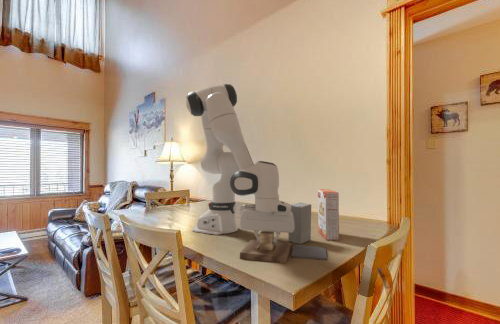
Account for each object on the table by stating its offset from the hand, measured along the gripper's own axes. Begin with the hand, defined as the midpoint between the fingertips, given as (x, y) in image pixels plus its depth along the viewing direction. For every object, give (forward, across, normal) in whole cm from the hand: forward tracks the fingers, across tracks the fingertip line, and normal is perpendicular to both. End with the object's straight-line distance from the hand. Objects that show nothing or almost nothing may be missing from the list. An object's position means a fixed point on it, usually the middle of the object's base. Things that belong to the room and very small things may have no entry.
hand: (267, 242), depth 91 cm
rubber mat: (+4, +15, +4) cm, 16 cm away
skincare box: (+4, +11, +18) cm, 21 cm away
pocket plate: (+4, 0, 0) cm, 4 cm away
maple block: (+4, 0, 0) cm, 4 cm away
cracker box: (+4, +23, +29) cm, 37 cm away
